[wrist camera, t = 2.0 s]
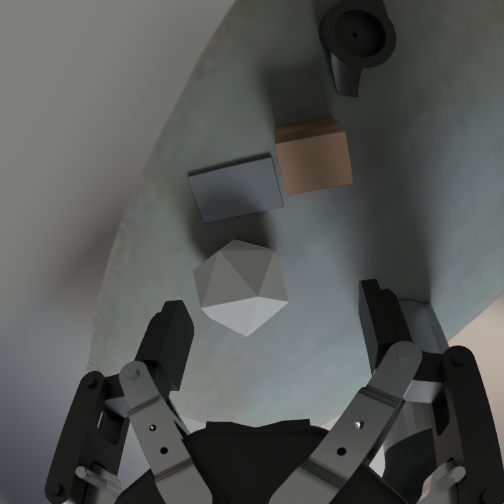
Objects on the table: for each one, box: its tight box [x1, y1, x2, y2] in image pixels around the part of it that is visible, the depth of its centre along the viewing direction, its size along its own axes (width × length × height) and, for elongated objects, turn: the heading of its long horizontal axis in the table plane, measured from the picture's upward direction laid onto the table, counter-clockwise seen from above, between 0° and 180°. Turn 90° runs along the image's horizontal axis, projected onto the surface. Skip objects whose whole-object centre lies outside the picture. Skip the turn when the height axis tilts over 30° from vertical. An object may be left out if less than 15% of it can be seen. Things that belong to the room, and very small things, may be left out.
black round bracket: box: [319, 0, 396, 97], centre depth 20 cm, size 8×10×3 cm
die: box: [193, 239, 289, 337], centre depth 31 cm, size 8×9×10 cm
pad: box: [188, 157, 283, 223], centre depth 29 cm, size 8×5×1 cm, turn 105°
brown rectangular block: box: [275, 118, 353, 195], centre depth 24 cm, size 5×4×6 cm
